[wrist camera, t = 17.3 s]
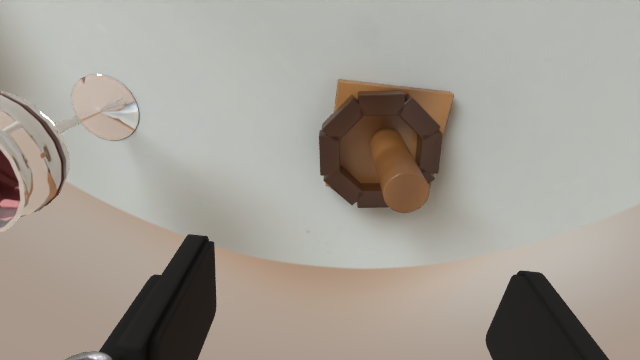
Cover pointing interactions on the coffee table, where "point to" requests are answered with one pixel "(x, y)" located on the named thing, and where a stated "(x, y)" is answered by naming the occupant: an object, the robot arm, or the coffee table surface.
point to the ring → (376, 106)
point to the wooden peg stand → (390, 145)
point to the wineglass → (53, 142)
